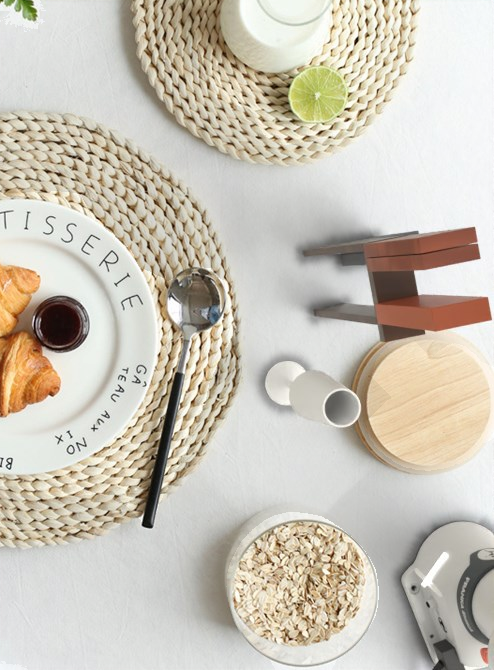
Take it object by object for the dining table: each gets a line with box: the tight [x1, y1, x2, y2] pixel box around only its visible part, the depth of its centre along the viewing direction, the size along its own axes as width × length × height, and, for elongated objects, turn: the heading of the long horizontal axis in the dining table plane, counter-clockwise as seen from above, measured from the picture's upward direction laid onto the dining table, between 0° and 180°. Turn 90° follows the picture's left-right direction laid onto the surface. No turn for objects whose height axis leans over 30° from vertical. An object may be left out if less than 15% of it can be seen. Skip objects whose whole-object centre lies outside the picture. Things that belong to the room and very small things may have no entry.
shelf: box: [363, 226, 482, 343], centre depth 91 cm, size 12×6×16 cm, turn 11°
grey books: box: [339, 230, 420, 267], centre depth 116 cm, size 3×6×15 cm, turn 101°
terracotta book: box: [375, 294, 493, 333], centre depth 90 cm, size 2×6×15 cm, turn 101°
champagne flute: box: [264, 360, 362, 428], centre depth 111 cm, size 7×7×24 cm
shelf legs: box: [302, 236, 397, 326], centre depth 111 cm, size 10×5×24 cm, turn 11°
